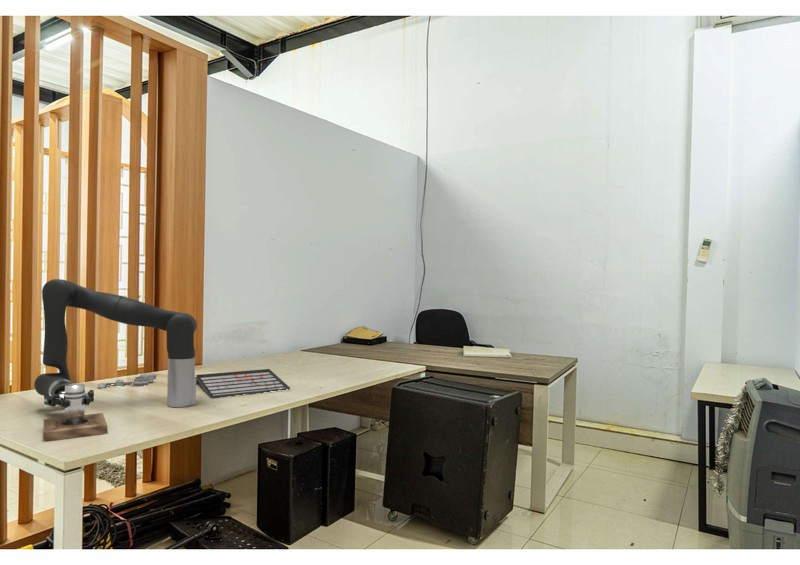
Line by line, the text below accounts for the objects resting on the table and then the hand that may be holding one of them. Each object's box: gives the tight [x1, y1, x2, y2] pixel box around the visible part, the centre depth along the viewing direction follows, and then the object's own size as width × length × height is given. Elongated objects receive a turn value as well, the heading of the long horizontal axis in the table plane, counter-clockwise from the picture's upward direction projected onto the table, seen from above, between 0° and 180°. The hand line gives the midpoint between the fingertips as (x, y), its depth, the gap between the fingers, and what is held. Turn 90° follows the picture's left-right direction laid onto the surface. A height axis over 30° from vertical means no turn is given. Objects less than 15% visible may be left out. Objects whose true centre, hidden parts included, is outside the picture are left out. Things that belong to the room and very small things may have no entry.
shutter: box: [195, 368, 291, 399], centre depth 230 cm, size 32×7×31 cm
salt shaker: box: [64, 382, 86, 425], centre depth 164 cm, size 5×5×12 cm
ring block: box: [43, 412, 108, 442], centre depth 165 cm, size 16×16×2 cm
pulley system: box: [96, 373, 157, 390], centre depth 231 cm, size 27×5×15 cm
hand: (77, 403), depth 163 cm, fingers closed on salt shaker, 5 cm apart
